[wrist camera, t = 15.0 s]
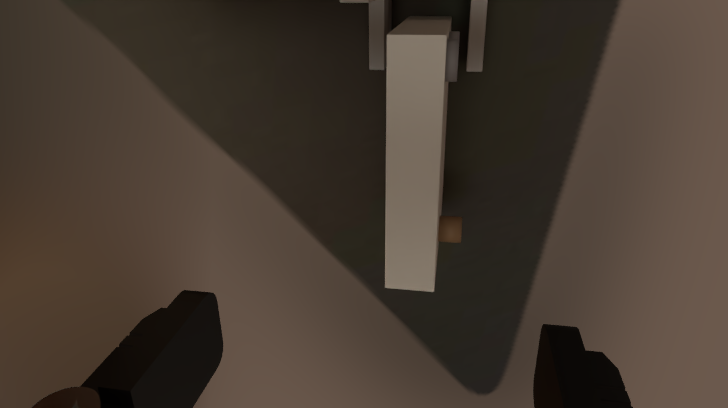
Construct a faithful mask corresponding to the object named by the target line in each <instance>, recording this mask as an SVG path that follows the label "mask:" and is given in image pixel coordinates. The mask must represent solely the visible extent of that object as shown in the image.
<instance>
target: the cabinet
mask: <svg viewBox="0 0 728 408" xmlns="http://www.w3.org/2000/svg"><path fill="white" fill-rule="evenodd" d="M487 2H488V0H470V15H469V31H468V46H467V61H466V65H467V72H482V67H483V54H484V41H485V28H486V15H487ZM340 3H369V70H384V69H385V68H386V67H387V34H388V33H389V32H391V31H392V0H340Z"/></svg>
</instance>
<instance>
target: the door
mask: <svg viewBox="0 0 728 408" xmlns="http://www.w3.org/2000/svg"><path fill="white" fill-rule="evenodd" d="M451 25H452V16H409V17H408V18H406V19H405V20H404V21H403V22H402V23H400V24H399V25H398V26H397V27H396V28H394V29H393V30H392V31H391V32H389V33H388V34H387V78H386V223H385V288H393V289H405V290H417V291H429V292H434V285H435V275H436V265H437V254H438V244H439V241H440V242H454V243H461V231H462V217H453V216H441V212H442V196H443V177H444V158H445V139H446V120H447V101H448V82H457V70H458V55H459V38H460V31H451Z"/></svg>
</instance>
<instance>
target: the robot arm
mask: <svg viewBox="0 0 728 408" xmlns="http://www.w3.org/2000/svg"><path fill="white" fill-rule="evenodd" d="M222 352H223V338H222V331H221V324H220V318H219V311H218V304H217V299H216V296H215V294H214V293H210V292H199V291H188V290H184V291H182V292H181V293H180V294H179V295H178V296H177V297H176V298H175V299H174V300H173V302H172V303H171V304H170V305H169V306H168V307H167V308H160V309H158V310H157V311H155V312H154V313H152V314H150V315H148V316H147V317H145V318H144V319H142V320H141V321H140V323H138V325H137V326H136V327H135V328H134V329H133V330H132V331H131V332H130V335H129V336H126V338H125V339H124V340H123V341H122V342H121V343H120V344H119V347H116V348H115V350H114V351H113V352H112V353H111V354H110V355H109V356H108V357H107V358H106V359H105V360H104V361H103V362H102V364H101V365H100V366H99V367H98V368H97V369H96V370H95V371H94V372H93V373H92V374H91V376H89V378H88V379H87V380H86V381H85V382H84V383H83V384H82V385H81V386H80V387H70V388H65V389H62V390H59V391H56V392H54V393H52V394H49V395H48V396H46V397H44V398H43V399H41V400H40V401H38V402H37V403H36V404H35V405H34V406H33V407H32V408H193V406H194V405H195V403H196V402H197V400H198V398H199V396H200V395H201V393H202V392H203V390H204V389H205V387H206V386H207V384H208V382H209V381H210V379H211V377H212V376H213V374H214V373H215V371H216V369H217V368H218V366H219V363H220V361H221V358H222ZM533 395H534V396H533V397H534V407H535V408H633V407H631V402H630V399H629V396H628V394H627V392H626V391H625V386H624V383H623V381H622V378H621V375H620V373H619V370H618V368H617V367H616V366H615V365H614V364H613V363H612V362H611V361H610V360H609V359H608V358H607V357H606V356H605V355H604V354H603V353H602V352H594V351H585V348H584V345H583V341H582V338H581V335H580V332H579V329H578V328H577V327H570V326H559V325H548V324H543V326H542V329H541V334H540V341H539V348H538V354H537V361H536V368H535V374H534V387H533Z"/></svg>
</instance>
